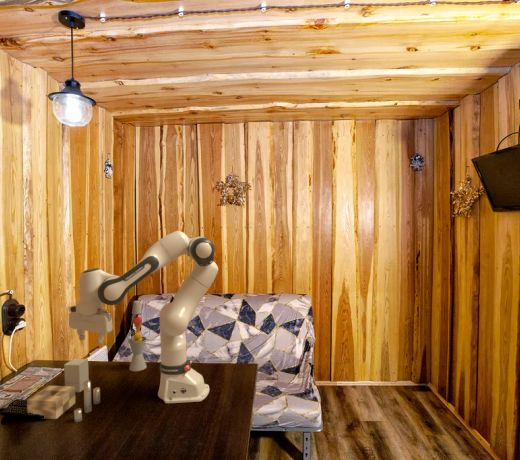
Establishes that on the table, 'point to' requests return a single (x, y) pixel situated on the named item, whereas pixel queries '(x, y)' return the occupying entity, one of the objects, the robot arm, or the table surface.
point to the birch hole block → (52, 401)
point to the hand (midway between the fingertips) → (90, 341)
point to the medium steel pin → (96, 395)
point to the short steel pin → (77, 415)
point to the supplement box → (76, 373)
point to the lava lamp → (137, 342)
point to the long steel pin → (87, 396)
